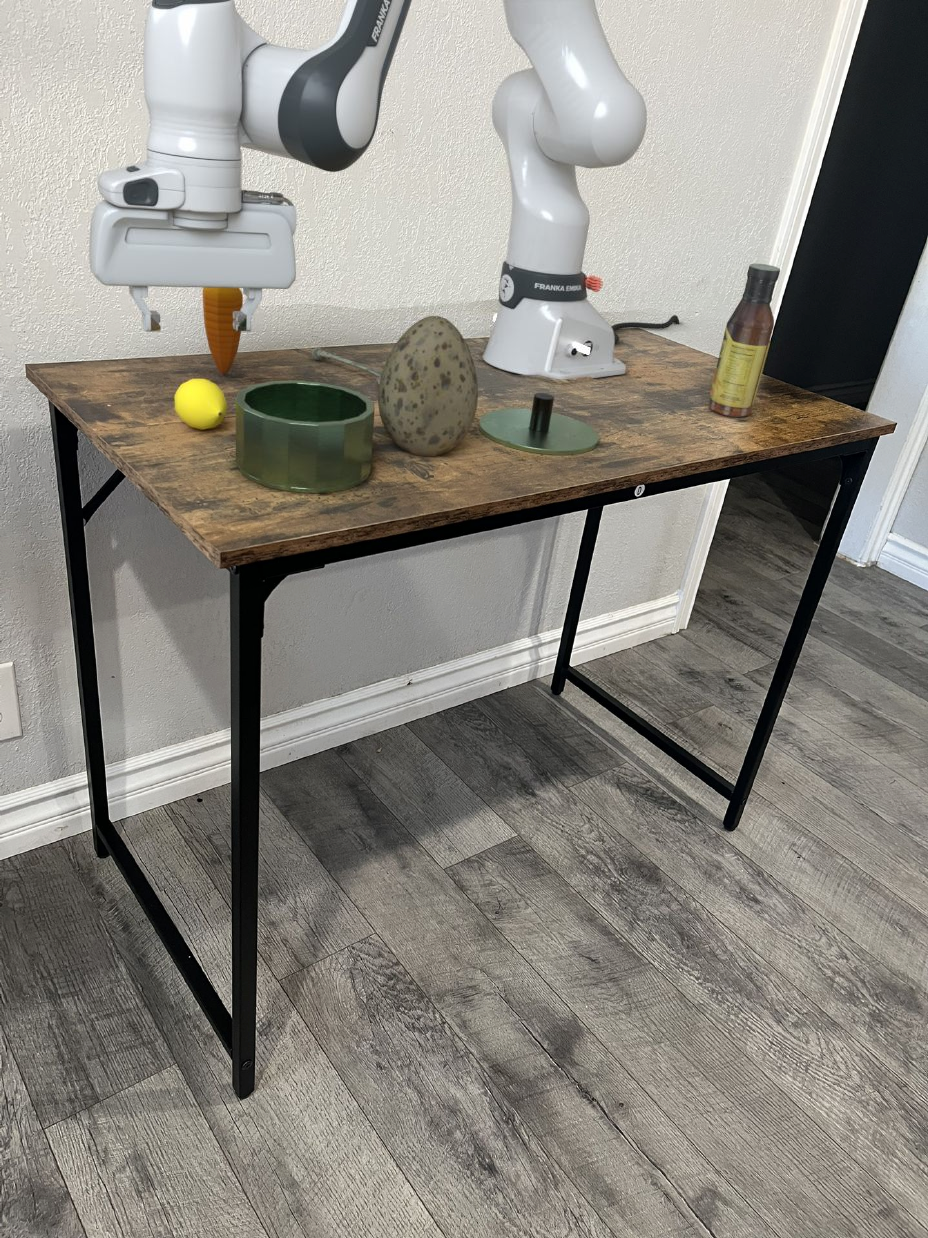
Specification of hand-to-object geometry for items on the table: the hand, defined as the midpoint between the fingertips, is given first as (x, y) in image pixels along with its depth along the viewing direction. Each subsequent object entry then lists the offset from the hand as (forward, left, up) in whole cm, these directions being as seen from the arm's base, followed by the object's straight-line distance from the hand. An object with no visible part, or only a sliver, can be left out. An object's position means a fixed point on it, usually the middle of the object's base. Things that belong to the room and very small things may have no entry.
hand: (197, 330), depth 99 cm
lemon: (0, 0, -11) cm, 11 cm away
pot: (-7, +13, -11) cm, 18 cm away
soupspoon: (-26, -14, -11) cm, 32 cm away
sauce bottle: (-73, +6, -11) cm, 74 cm away
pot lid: (-38, +10, -10) cm, 41 cm away
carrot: (-8, -19, -11) cm, 23 cm away
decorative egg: (-22, +12, -11) cm, 27 cm away
